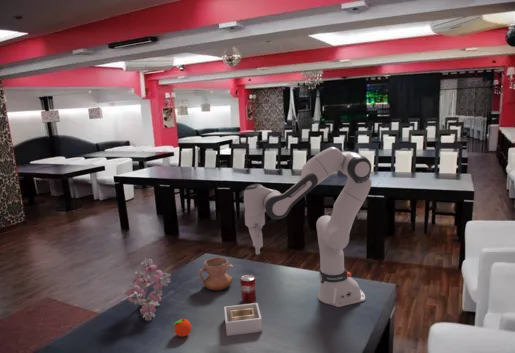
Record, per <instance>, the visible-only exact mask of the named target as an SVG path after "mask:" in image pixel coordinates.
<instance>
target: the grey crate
mask: <svg viewBox="0 0 515 353" xmlns="http://www.w3.org/2000/svg"><path fill="white" fill-rule="evenodd" d="M223 308H224V319H225V320H224V321H225V330H226V331H225V333H226V337H230V336H237V335H244V334H245V335H247V334H253V333H254V334H255V333H260V332H263V320H262V315H261V312H260V307H259V303H258V302H254V303H252V304H246V303H243V304H236V305H229V306H228V305H227V306H224V307H223ZM248 308H253V310H254V314H255V319H246V320H238V321H231V313H230V311H231V310H240V309H248Z"/></svg>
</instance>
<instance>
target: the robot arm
mask: <svg viewBox="0 0 515 353" xmlns="http://www.w3.org/2000/svg"><path fill="white" fill-rule="evenodd" d="M336 172H340V173H342V174H343V175H345V176H346V177H347V181H346V184H345V185H344V187H342V188H343V189H342V190H341V191H340V192H339V193H340V194H339V195H338V197H337V199H336V200H335V201H334V203H333V208H332V213H331V215H327V214H326V215H322V216H320V217H318V219H317V221H316V232H317V233H316V234H317V241H318V243H317V244H318V248H319V256H320V257H319V260H320V261H319V262H320V268H319V273H318V274H319V277H318V278H319V282H320V283H319V289H318V294H317V299H318V300H319V301H320V302H321V303H324V304H326V305H331V306H334V307H336V308H341V307H344V306H349V305H353V304H357V303H361V302H365V301H366V295H365V293H364V292H363V290H362V289H361V288H360V286H359V284H358V282H357V281H356V280H355V279H354V278H352V273H351V271H348V270H347V269H346V268H345V252H344V250H343V249H345V248H346V247H347V246H348V244H349V241H350V233H351V230H352V227H353V223H354V221H355V219H356V216H357V215H358V213H359V211H360V209H361V207H362V205H363V204H364V202H365V201H366V198H367V197H368V195H369V192H370V190H371V187H372V180H371V178H370V176H371V172H372V163H371V161H370V160H369V159H368V158H367V157H366V156H365V155H364V156H363V155H362V154H360V153H358V152H354V151H351V150H342V151H341V150H340V149H339V148H337V147H334V146H330V147H328V148H326V149H323V150H321V151H320V152H319V153H317V154H316V155H314V156H313V157H311V158H310V159H308V160H307V162H306V163H305V164H303V165H302V168H301V175H300V177H299V179H298V181H297V182H296V183H295V184H294V185H292V186H291V187H290V188H289V189H287V190H286V191H285V192H284V193H281V192H280V191H278V190H276V189H271V188H267V187H265V186H263V185H262V184H260V183H253V184H249V185H248V186H246V187H245V189H244V192H243V205H244V210H245V211H244V224H245V226H246V227H247V228H248V231H249V235H250V238H251V240H252V246H253V247H254V248H255V255H260V254H261V248H263V246H264V243H263V242H264V241H263V239H264V238H263V232H262V229H263V226H265V224H266V217H265V213H266V215H268V217H269V218H270V219H273V220H281V219H283V218H286V217H287V216H288V214H290V211H291V210H292V208H293V207H294V206H295V205H296V204H297V203H298V202H299V201H301V199H302V198H304V197H306V196H307V194H308V193H310V192H311V191H312V190H313V189H314V188H315V187H316V186H318V185H319V184H320V183H322V182H324V180H326V179H327V178H328V177H330V176H332V174H334V173H336Z"/></svg>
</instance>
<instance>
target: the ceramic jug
mask: <svg viewBox="0 0 515 353" xmlns="http://www.w3.org/2000/svg"><path fill="white" fill-rule="evenodd" d="M228 263H229V260H228V259H227V257H223V256H221V257H220V256H219V257H212V258H208V259H206V260H205V261H204V263H203V264H204V267H205V268H201V269H199V270H198V277H199V279H200V280H201V282H202V284H203V285H204V287H205V288H206V289H208V290H211V291H221V290H225V289H227V288H228V287H229V286H230V285H231V284H232V280H233V276H231V275H230V274H228V273H226V272H227V270H228V269H230V268H233V264H228ZM202 272H204V273H206V274H208V275H207V276H206V277H205V278H203V276H202Z"/></svg>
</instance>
